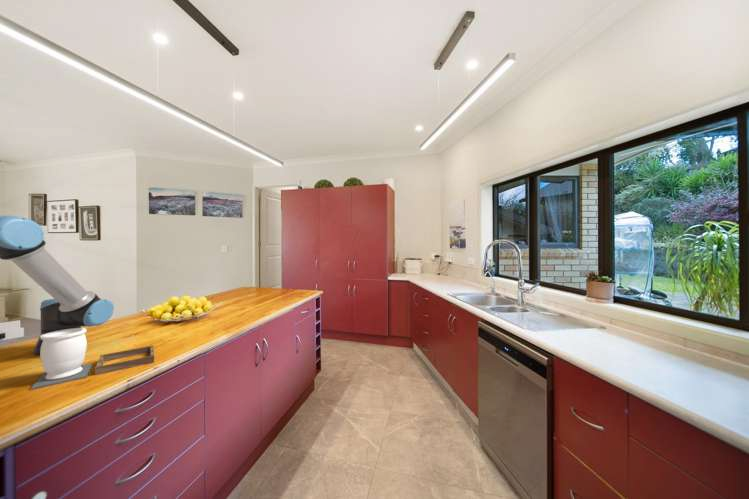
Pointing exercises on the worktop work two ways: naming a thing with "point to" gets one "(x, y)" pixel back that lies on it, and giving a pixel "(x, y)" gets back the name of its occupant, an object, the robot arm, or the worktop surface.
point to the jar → (63, 352)
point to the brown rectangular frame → (125, 364)
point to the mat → (44, 382)
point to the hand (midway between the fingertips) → (22, 327)
